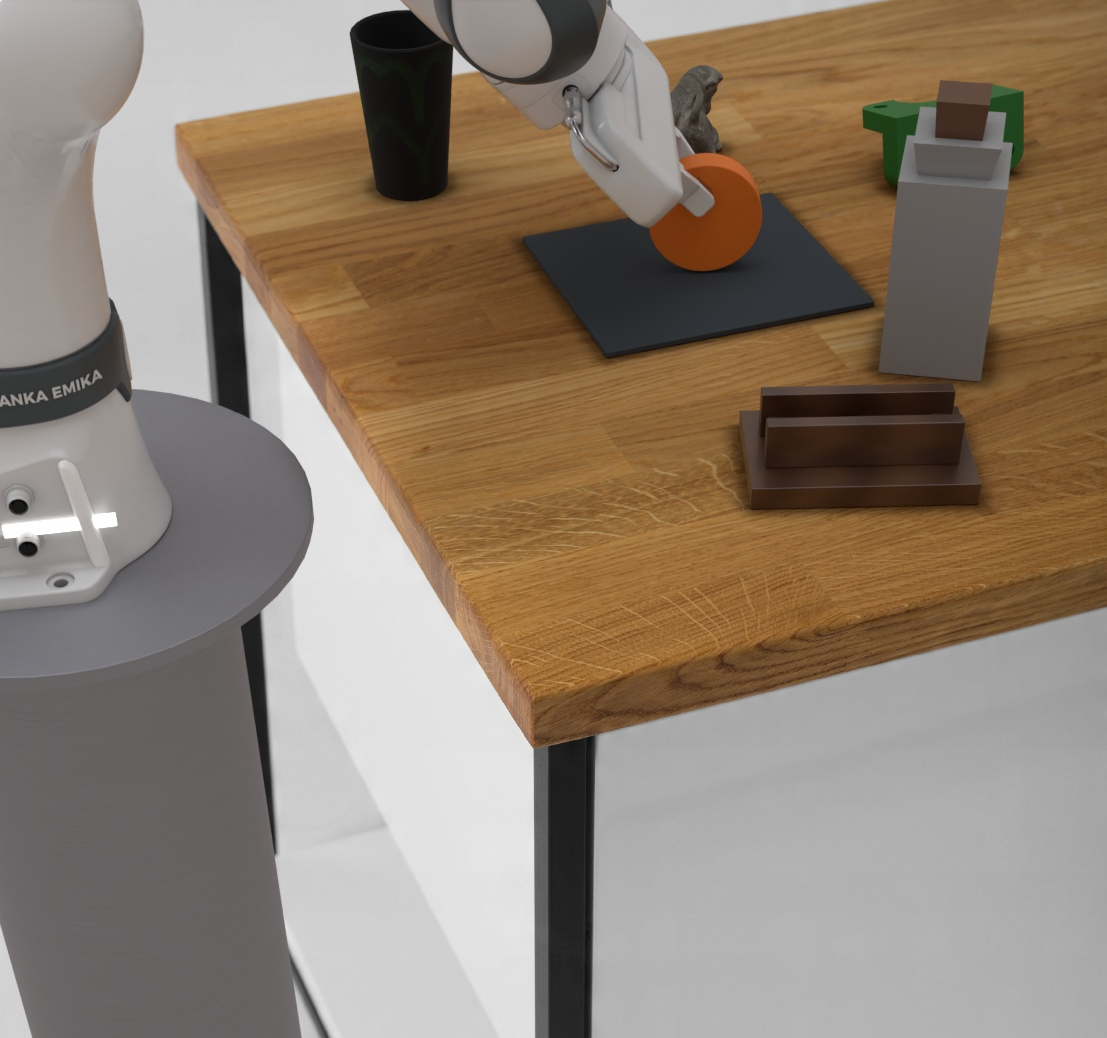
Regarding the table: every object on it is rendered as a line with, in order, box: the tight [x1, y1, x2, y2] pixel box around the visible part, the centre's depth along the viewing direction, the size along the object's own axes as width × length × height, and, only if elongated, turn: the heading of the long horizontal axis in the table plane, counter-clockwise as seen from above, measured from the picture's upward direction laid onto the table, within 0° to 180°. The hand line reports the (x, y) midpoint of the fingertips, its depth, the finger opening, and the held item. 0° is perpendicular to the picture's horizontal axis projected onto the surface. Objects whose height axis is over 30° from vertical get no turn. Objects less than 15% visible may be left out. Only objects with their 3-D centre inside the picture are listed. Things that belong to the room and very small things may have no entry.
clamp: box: [861, 83, 1025, 188], centre depth 158 cm, size 12×6×9 cm, turn 107°
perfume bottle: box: [878, 79, 1013, 382], centre depth 134 cm, size 7×7×18 cm
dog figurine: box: [670, 64, 724, 154], centre depth 159 cm, size 12×6×7 cm, turn 178°
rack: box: [738, 382, 982, 510], centre depth 128 cm, size 14×9×4 cm, turn 91°
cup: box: [348, 9, 454, 201], centre depth 155 cm, size 8×8×12 cm
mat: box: [521, 192, 876, 359], centre depth 148 cm, size 20×18×1 cm
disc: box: [649, 153, 762, 271], centre depth 145 cm, size 8×2×8 cm, turn 91°
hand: (705, 195), depth 144 cm, fingers closed on disc, 2 cm apart
